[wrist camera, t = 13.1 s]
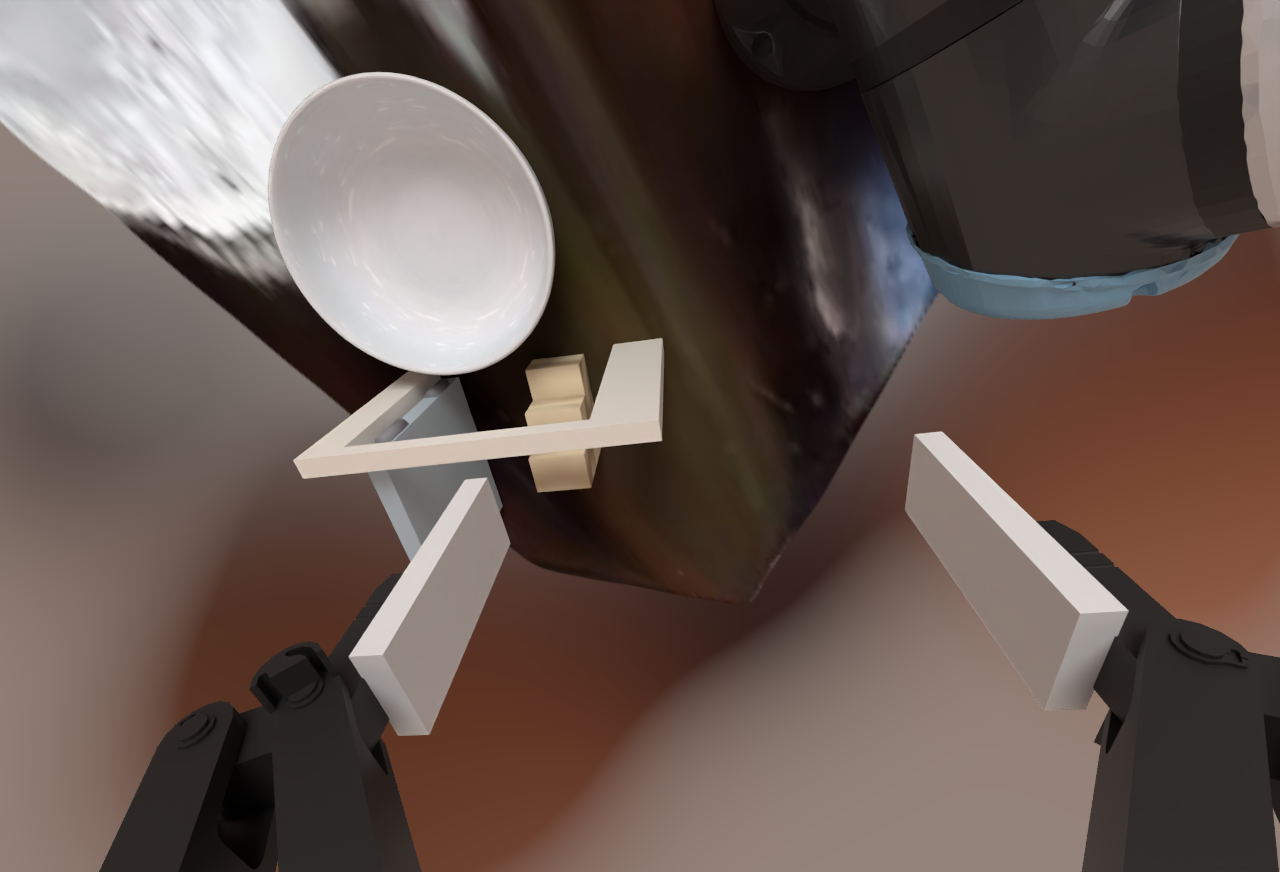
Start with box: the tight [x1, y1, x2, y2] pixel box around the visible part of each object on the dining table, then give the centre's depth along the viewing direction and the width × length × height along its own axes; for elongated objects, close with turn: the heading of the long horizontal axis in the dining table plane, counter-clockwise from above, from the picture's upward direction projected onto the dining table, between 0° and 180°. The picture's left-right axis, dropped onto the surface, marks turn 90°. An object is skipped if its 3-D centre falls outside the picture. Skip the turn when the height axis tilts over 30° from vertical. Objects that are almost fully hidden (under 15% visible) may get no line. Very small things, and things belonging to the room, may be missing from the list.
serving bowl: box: [268, 72, 555, 375], centre depth 39 cm, size 21×21×7 cm
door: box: [368, 377, 503, 561], centre depth 45 cm, size 16×3×15 cm, turn 8°
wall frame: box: [293, 338, 664, 479], centre depth 40 cm, size 25×2×17 cm, turn 98°
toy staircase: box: [525, 354, 601, 492], centre depth 46 cm, size 10×5×8 cm, turn 8°
